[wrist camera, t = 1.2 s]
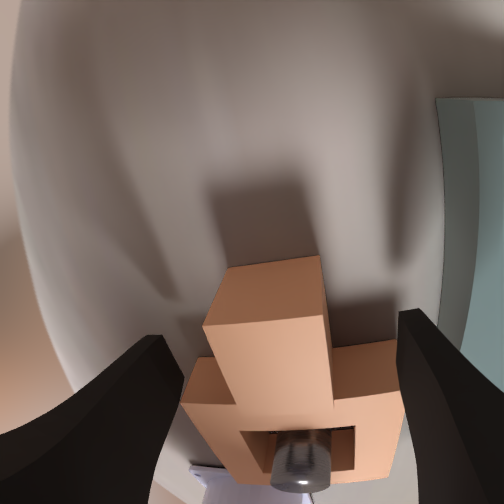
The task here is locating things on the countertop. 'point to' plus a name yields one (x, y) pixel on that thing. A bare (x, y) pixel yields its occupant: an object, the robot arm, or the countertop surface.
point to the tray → (474, 231)
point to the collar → (290, 377)
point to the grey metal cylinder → (302, 461)
